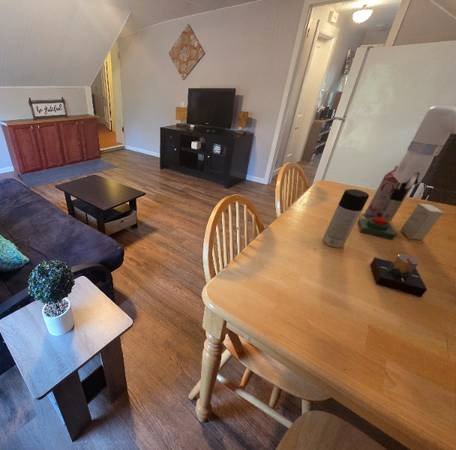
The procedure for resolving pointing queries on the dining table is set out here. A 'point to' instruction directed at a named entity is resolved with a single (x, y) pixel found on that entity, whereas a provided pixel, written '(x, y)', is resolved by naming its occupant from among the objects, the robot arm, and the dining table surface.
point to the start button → (380, 220)
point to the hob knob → (403, 265)
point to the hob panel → (397, 278)
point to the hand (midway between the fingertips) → (395, 199)
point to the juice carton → (384, 199)
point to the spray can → (345, 217)
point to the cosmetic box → (421, 221)
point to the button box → (376, 228)
